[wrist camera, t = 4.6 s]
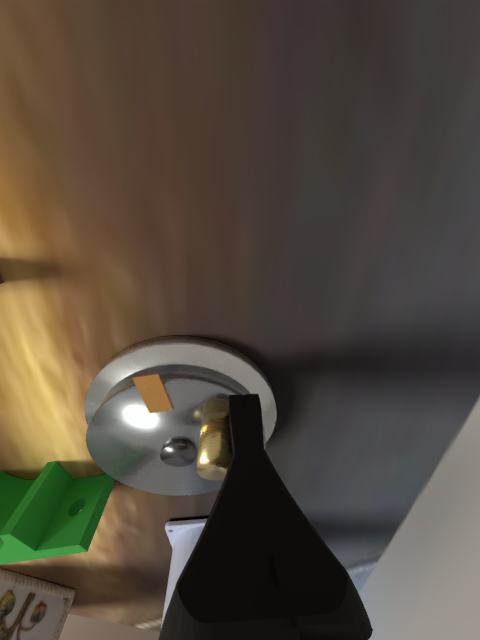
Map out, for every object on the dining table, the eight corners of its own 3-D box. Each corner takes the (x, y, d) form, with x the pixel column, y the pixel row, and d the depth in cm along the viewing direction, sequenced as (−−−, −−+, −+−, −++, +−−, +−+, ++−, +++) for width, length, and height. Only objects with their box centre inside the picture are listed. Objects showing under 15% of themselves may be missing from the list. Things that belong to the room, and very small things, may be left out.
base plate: (270, 457, 19) (272, 469, 18) (120, 467, 18) (115, 480, 17) (279, 330, 13) (282, 340, 12) (63, 340, 13) (50, 351, 12)
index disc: (207, 485, 18) (202, 568, 14) (75, 442, 15) (19, 534, 11) (294, 410, 14) (320, 490, 10) (145, 332, 11) (102, 406, 7)
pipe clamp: (95, 451, 18) (58, 526, 14) (116, 477, 19) (88, 551, 15) (-44, 475, 18) (-122, 556, 14) (-11, 499, 20) (-72, 577, 16)
